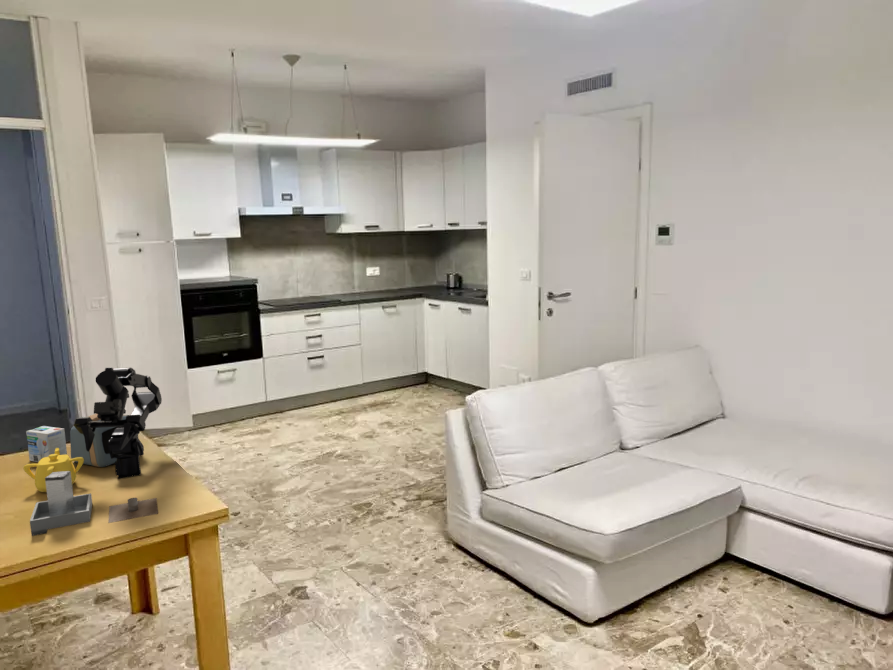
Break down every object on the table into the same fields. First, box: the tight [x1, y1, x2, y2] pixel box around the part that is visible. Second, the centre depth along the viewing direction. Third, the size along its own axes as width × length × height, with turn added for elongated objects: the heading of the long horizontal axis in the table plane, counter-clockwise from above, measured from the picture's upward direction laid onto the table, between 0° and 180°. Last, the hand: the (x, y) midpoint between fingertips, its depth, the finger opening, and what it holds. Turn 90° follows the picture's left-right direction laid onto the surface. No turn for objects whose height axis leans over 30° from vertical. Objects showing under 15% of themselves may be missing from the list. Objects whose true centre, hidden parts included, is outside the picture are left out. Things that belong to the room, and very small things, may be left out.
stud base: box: [108, 497, 159, 524], centre depth 179 cm, size 12×12×4 cm
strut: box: [45, 471, 75, 517], centre depth 174 cm, size 4×4×12 cm
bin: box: [29, 492, 93, 537], centre depth 175 cm, size 13×13×4 cm
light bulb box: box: [25, 425, 68, 463], centre depth 224 cm, size 11×7×11 cm, turn 68°
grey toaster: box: [69, 413, 128, 468], centre depth 223 cm, size 16×16×16 cm
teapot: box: [22, 448, 84, 493], centre depth 199 cm, size 14×13×10 cm
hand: (104, 450), depth 191 cm, fingers open, 9 cm apart
